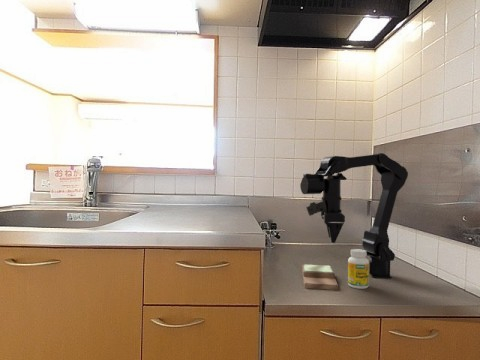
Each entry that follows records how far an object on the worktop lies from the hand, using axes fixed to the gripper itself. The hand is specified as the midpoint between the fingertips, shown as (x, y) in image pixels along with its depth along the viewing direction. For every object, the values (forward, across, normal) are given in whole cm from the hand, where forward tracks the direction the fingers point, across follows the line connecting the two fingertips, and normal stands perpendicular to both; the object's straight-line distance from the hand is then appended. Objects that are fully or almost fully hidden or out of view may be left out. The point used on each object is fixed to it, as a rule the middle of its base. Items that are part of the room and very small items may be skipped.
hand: (331, 239), depth 113 cm
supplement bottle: (+14, +6, +8) cm, 16 cm away
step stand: (+13, +3, -5) cm, 14 cm away
